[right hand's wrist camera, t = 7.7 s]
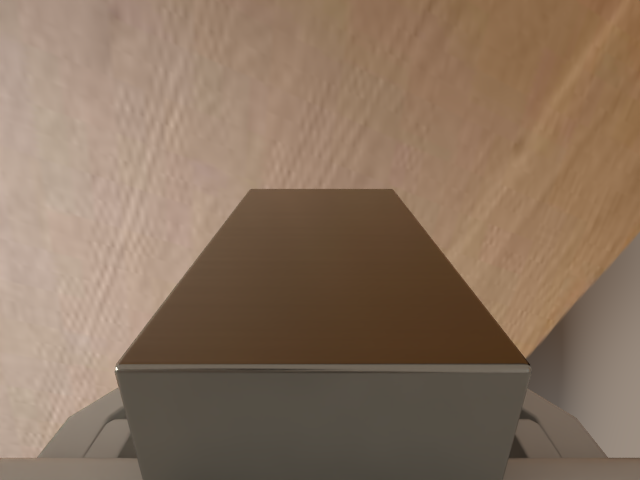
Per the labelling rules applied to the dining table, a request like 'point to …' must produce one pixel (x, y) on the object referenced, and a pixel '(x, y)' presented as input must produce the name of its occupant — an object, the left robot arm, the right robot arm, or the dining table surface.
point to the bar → (322, 353)
